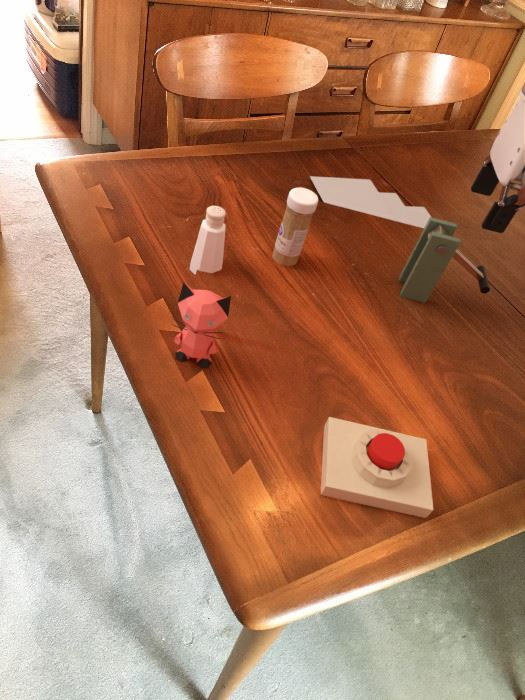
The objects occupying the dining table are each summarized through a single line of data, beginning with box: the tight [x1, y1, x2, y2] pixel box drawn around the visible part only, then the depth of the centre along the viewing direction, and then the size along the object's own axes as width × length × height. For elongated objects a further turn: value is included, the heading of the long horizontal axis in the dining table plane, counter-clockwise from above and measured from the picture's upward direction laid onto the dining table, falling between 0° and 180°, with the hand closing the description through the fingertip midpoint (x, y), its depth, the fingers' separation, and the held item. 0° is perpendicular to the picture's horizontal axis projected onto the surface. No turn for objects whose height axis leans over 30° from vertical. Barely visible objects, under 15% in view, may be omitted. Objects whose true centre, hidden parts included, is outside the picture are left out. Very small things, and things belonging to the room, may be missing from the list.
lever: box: [427, 225, 491, 294], centre depth 88 cm, size 13×6×2 cm, turn 83°
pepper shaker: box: [189, 205, 227, 276], centre depth 84 cm, size 5×5×11 cm
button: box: [368, 433, 405, 470], centre depth 66 cm, size 4×4×2 cm
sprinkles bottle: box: [271, 187, 319, 267], centre depth 88 cm, size 5×5×13 cm
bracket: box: [398, 216, 462, 303], centre depth 89 cm, size 12×9×14 cm
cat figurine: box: [170, 281, 232, 369], centre depth 71 cm, size 7×7×12 cm
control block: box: [320, 416, 434, 519], centre depth 67 cm, size 13×10×4 cm
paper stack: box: [309, 175, 432, 229], centre depth 109 cm, size 23×25×1 cm
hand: (485, 210), depth 80 cm, fingers open, 9 cm apart
